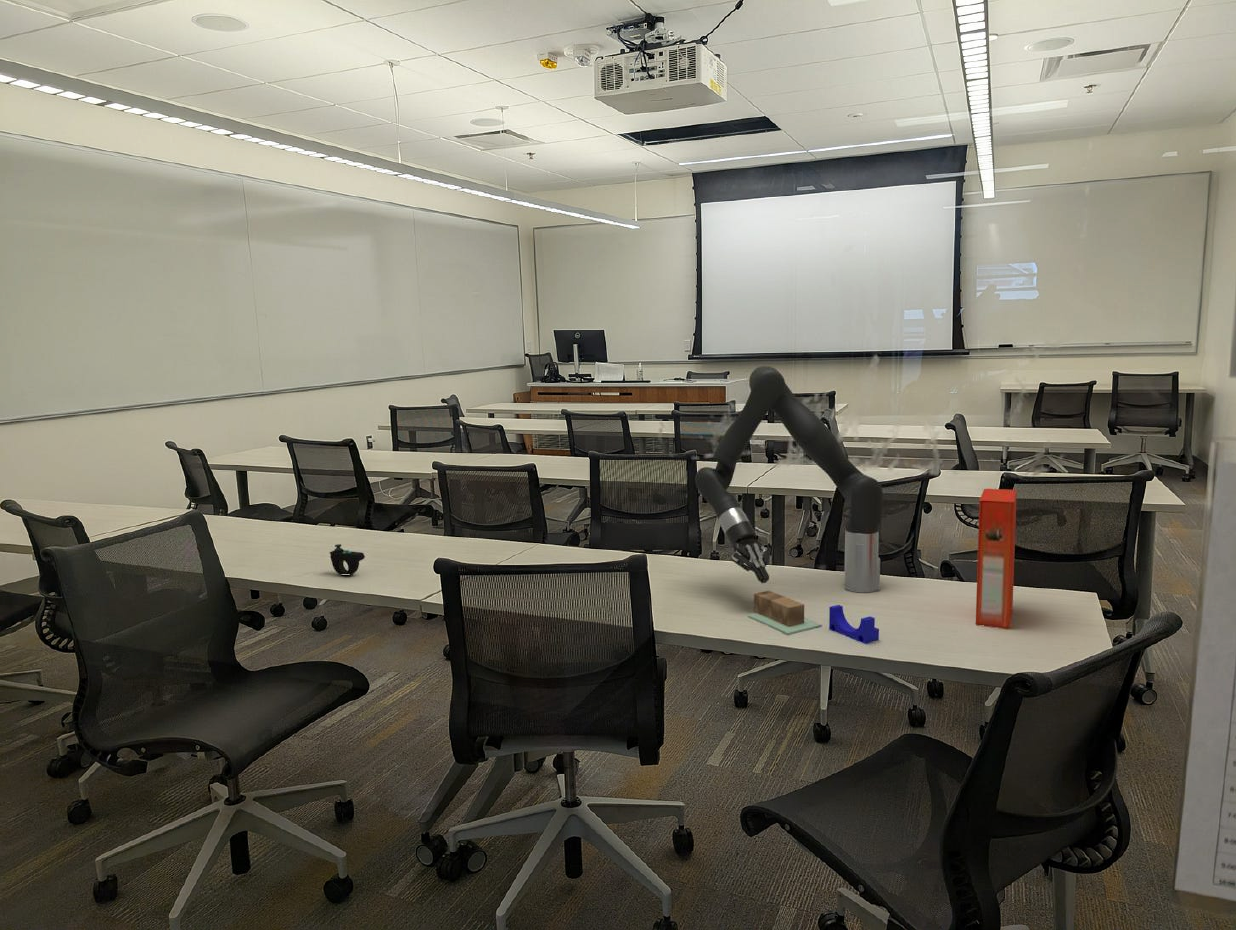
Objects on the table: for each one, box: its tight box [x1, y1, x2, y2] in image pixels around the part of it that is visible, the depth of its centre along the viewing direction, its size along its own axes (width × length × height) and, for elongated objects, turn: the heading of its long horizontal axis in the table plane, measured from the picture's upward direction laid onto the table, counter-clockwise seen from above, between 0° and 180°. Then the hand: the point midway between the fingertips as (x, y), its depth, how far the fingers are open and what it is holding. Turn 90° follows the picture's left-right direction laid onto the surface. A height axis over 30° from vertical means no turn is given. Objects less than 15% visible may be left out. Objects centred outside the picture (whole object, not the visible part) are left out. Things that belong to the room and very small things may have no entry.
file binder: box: [975, 488, 1018, 630], centre depth 205 cm, size 8×17×32 cm, turn 152°
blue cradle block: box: [828, 604, 880, 645], centre depth 197 cm, size 12×4×6 cm, turn 29°
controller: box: [329, 543, 366, 575], centre depth 261 cm, size 4×12×10 cm, turn 67°
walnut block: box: [753, 590, 805, 627], centre depth 209 cm, size 5×5×14 cm
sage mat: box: [747, 612, 823, 636], centre depth 208 cm, size 16×11×1 cm
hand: (765, 581), depth 213 cm, fingers closed
